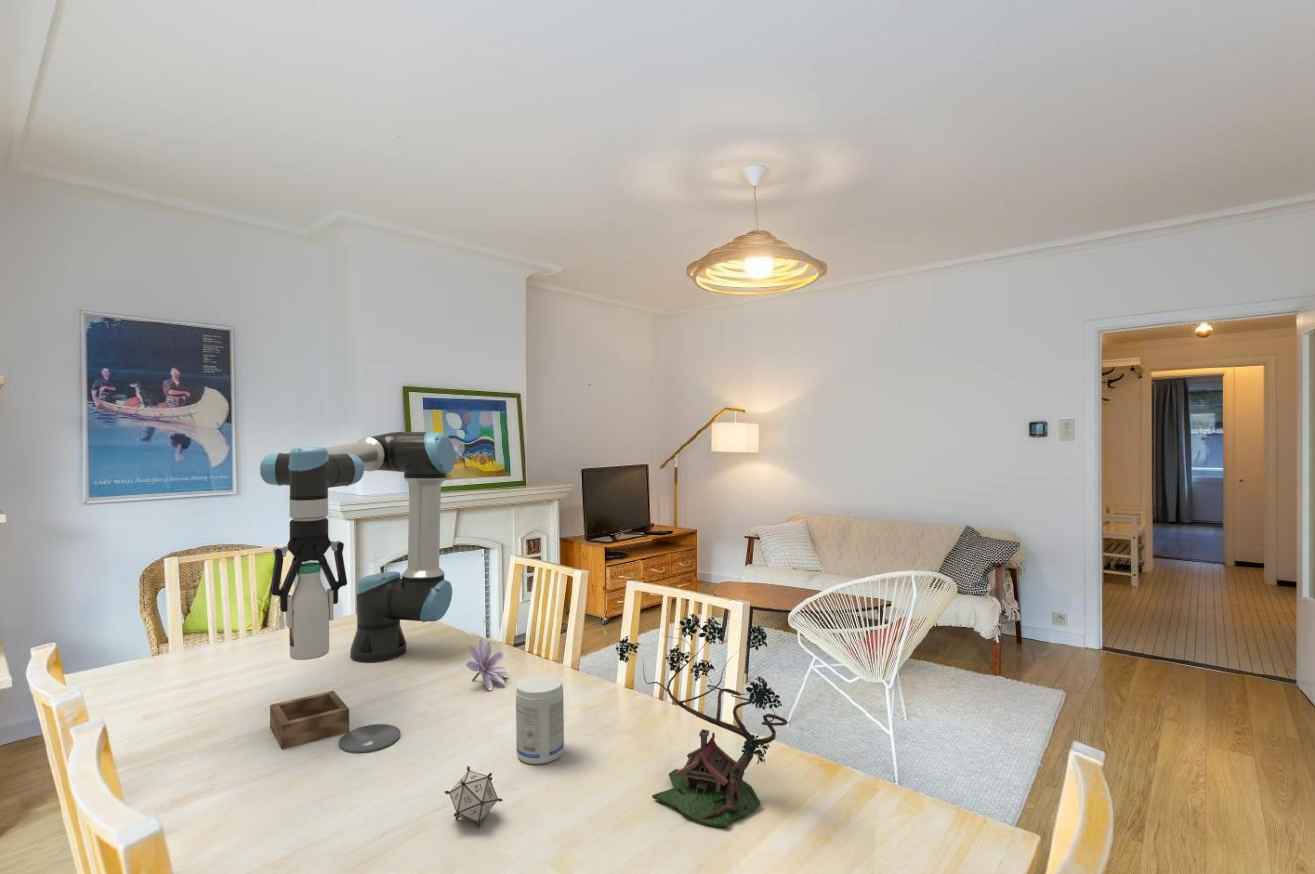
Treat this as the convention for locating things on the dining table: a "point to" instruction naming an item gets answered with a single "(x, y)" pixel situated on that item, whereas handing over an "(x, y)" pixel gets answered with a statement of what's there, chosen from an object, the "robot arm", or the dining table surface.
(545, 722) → the supplement tub
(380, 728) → the slate coaster
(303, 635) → the milk bottle
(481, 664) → the water lily
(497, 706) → the dining table surface
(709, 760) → the bonsai tree
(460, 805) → the game die
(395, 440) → the robot arm
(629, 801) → the dining table surface
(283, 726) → the walnut pocket
